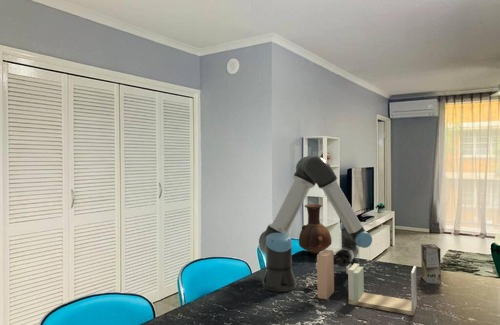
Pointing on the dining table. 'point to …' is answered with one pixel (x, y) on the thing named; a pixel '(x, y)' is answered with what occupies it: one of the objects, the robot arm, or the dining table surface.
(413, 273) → the grey flat panel
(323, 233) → the vase
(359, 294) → the books
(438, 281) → the coffee box
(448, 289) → the dining table surface
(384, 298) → the board
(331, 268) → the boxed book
